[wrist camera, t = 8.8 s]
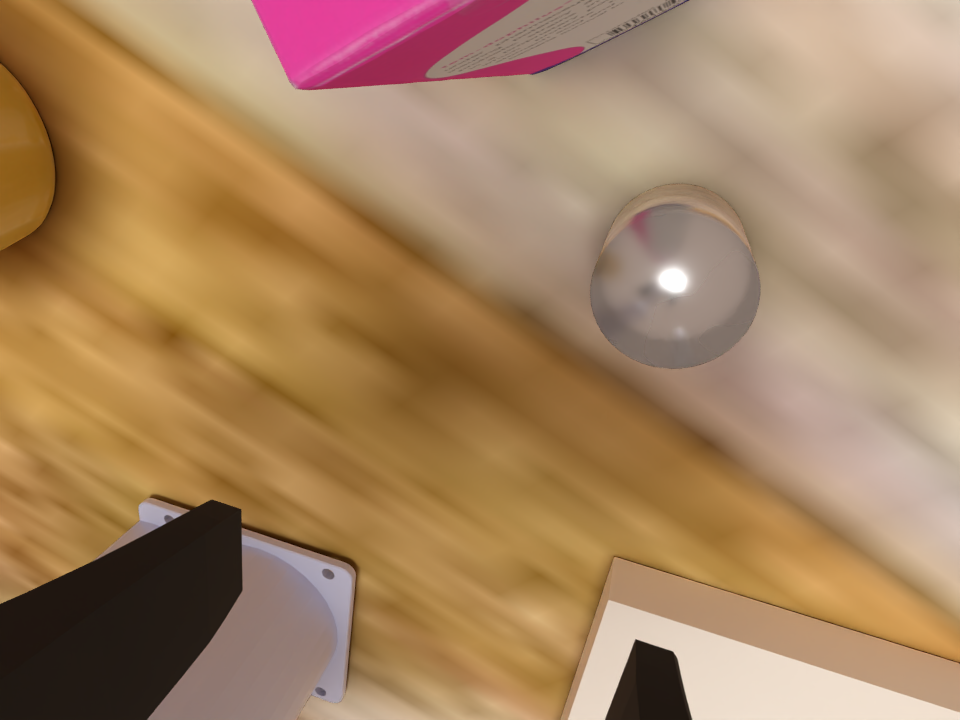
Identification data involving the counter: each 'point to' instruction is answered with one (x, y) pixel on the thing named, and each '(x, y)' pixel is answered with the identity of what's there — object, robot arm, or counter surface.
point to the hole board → (753, 657)
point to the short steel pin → (675, 278)
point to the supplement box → (438, 37)
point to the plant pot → (22, 163)
